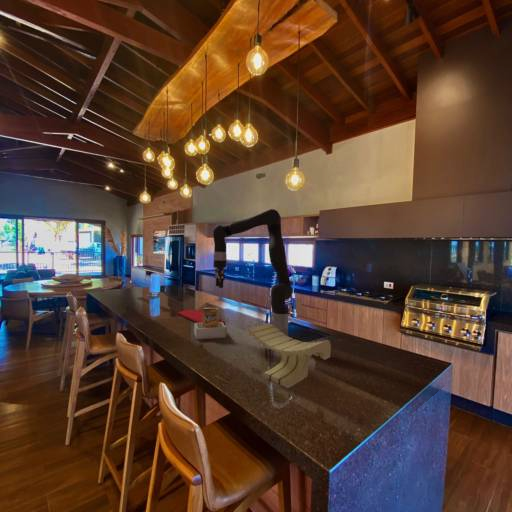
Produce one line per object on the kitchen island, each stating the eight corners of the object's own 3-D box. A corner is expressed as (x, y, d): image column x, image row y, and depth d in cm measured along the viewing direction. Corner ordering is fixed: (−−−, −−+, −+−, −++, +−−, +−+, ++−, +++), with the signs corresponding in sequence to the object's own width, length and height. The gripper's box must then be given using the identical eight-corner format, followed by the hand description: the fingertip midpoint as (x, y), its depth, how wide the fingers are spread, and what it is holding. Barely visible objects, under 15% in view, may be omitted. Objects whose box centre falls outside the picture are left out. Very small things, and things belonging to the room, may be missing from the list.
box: (226, 337, 159) (226, 327, 158) (196, 339, 153) (196, 328, 153) (221, 331, 170) (222, 321, 170) (193, 333, 164) (194, 323, 164)
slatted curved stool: (328, 382, 110) (331, 338, 109) (307, 397, 98) (309, 347, 98) (270, 359, 130) (272, 322, 130) (247, 369, 118) (249, 328, 118)
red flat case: (196, 312, 217) (196, 307, 217) (225, 325, 186) (226, 319, 186) (177, 315, 207) (177, 310, 207) (205, 328, 176) (205, 322, 176)
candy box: (202, 334, 159) (203, 308, 159) (202, 332, 163) (203, 307, 163) (217, 335, 160) (218, 308, 160) (217, 332, 164) (218, 307, 164)
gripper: (229, 260, 157) (228, 288, 157) (223, 259, 171) (222, 285, 171) (216, 259, 155) (215, 288, 155) (211, 259, 168) (210, 285, 168)
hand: (219, 287), depth 163 cm, fingers open, 8 cm apart
